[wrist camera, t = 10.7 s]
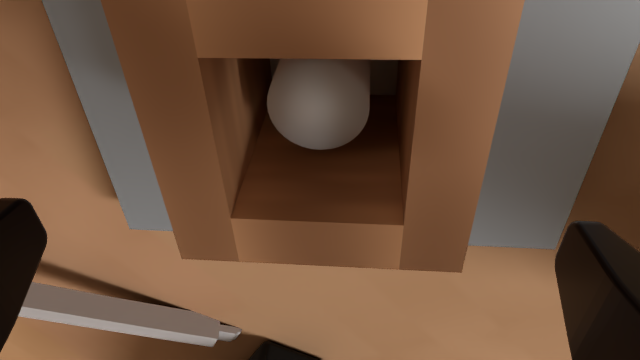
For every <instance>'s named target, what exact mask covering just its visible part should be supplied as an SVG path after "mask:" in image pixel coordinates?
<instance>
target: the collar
mask: <svg viewBox="0 0 640 360" xmlns="http://www.w3.org/2000/svg"><path fill="white" fill-rule="evenodd" d="M524 2H525V0H101V3H102V7H103V10H104V13H105V16H106V19H107V22H108V26H109V29H110V32H111V35H112V38H113V42H114V45H115V48H116V51H117V54H118V57H119V61H120V64H121V67H122V70H123V73H124V77H125V80H126V83H127V86H128V89H129V92H130V96H131V99H132V102H133V105H134V108H135V111H136V115H137V118H138V121H139V124H140V127H141V131H142V134H143V137H144V140H145V143H146V146H147V150H148V153H149V156H150V159H151V162H152V166H153V169H154V172H155V175H156V178H157V181H158V185H159V188H160V191H161V194H162V197H163V201H164V204H165V207H166V210H167V213H168V216H169V220H170V223H171V226H172V229H173V232H174V235H175V239H176V242H177V245H178V248H179V251H180V255H181V258H182V259H196V260H216V261H237V262H257V263H277V264H297V265H318V266H338V267H358V268H379V269H399V270H419V271H439V272H460V273H462V268H463V264H464V260H465V255H466V251H467V247H468V243H469V238H470V234H471V230H472V225H473V221H474V217H475V212H476V208H477V204H478V200H479V195H480V191H481V187H482V182H483V178H484V174H485V169H486V165H487V161H488V157H489V152H490V148H491V144H492V139H493V135H494V131H495V126H496V122H497V118H498V113H499V109H500V105H501V101H502V96H503V92H504V88H505V83H506V79H507V75H508V70H509V66H510V62H511V58H512V53H513V49H514V45H515V40H516V36H517V32H518V27H519V23H520V19H521V15H522V10H523V6H524ZM270 58H272V59H374V60H398V72H397V85H396V95H370V109H369V116H368V119H367V122H366V124H365V126H364V128H363V129H362V131H361V132H360V133H359V134H358V135H357V136H356V137H355V138H354V139H353V140H351V141H350V142H348V143H347V144H345V145H342V146H340V147H337V148H333V149H326V150H317V149H309V148H305V147H302V146H299V145H297V144H295V143H293V142H291V141H289V140H288V139H287V138H285V137H284V136H283V135H282V134H281V133H280V132H279V131H278V130H277V129H276V127H275V126H274V124H273V123H272V121H271V119H270V116H269V113H268V109H267V95H268V91H269V88H270V85H271V82H272V76H271V66H270Z"/></svg>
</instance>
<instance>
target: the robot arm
mask: <svg viewBox="0 0 640 360" xmlns="http://www.w3.org/2000/svg"><path fill="white" fill-rule="evenodd" d="M46 244H47V233H46V230H45V228H44V227H43V225H42V223H41V221H40V219H39V217H38V216H37V214H36V212H35V210H34V208H33V206H32V205H31V203H30V202H29V201H27V200H26V199H21V198H1V199H0V352H1V350H2V348H3V346H4V344H5V342H6V341H7V339H8V337H9V335H10V333H11V331H12V328H13V326H14V324H15V322H16V320H17V317H18V315H19V313H20V311H21V308H22V305H23V303H24V300H25V298H26V295H27V293H28V290H29V288H30V285H31V283H32V280H33V278H34V275H35V273H36V270H37V268H38V265H39V263H40V260H41V257H42V255H43V252H44V250H45V247H46ZM555 272H556V278H557V283H558V288H559V294H560V299H561V304H562V310H563V315H564V321H565V326H566V331H567V337H568V342H569V347H570V352H571V356H572V360H640V252H639V251H638V250H636V249H635V248H634V247H632V246H631V245H630V244H629V243H627V242H626V241H625V240H624V239H622V238H621V237H620V236H618V235H617V234H616V233H615V232H613V231H612V230H611V229H609V228H608V227H607V226H606V225H604V224H602V223H600V222H592V221H574V222H572V223H571V224H570V225H569V226H568V228H567V231H566V233H565V235H564V238H563V240H562V243H561V245H560V247H559V250H558V252H557V255H556V259H555Z"/></svg>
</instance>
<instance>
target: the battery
mask: <svg viewBox="0 0 640 360" xmlns="http://www.w3.org/2000/svg"><path fill="white" fill-rule="evenodd" d="M249 360H319V359H316V358H313V357H310V356H308V355H305V354H302V353H299V352H297V351H294V350H291V349H288V348H286V347H283V346H280V345H278V344H275V343H272V342H269V341H267V342H264V343H263V344H262V345H261V346H260V347H259V348H258V349H257V350H256V352H255V353H254V354H253V355H252V356H251V357H250V359H249Z"/></svg>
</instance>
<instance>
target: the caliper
mask: <svg viewBox="0 0 640 360" xmlns="http://www.w3.org/2000/svg"><path fill="white" fill-rule="evenodd" d="M18 316H20V317H27V318H33V319H39V320H45V321H51V322H58V323H64V324H70V325H76V326H82V327H89V328H95V329H101V330H107V331H113V332H120V333H126V334H132V335H138V336H145V337H151V338H157V339H164V340H170V341H177V342H183V343H189V344H196V345H202V346H209V347H213V345H214V344H215V343H216V341H217V340H222V341H228V342H231V341H232V340H235V339H236V338H237V337H238V335H239V334H240V333H241V331H242V330H241V329H240V328H237V327H234V326H227V325H220V321H218V320H216V319H213V318H210V317H207V316H205V315H202V314H199V313H196V312H194V311H188V310H183V309H177V308H171V307H166V306H160V305H155V304H149V303H144V302H138V301H132V300H127V299H121V298H116V297H110V296H104V295H99V294H94V293H88V292H83V291H78V290H72V289H67V288H61V287H56V286H51V285H45V284H40V283H35V282H32V283H31V285H30V288H29V290H28V293H27V295H26V298H25V300H24V303H23V305H22V308H21V311H20V313H19V315H18Z"/></svg>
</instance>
